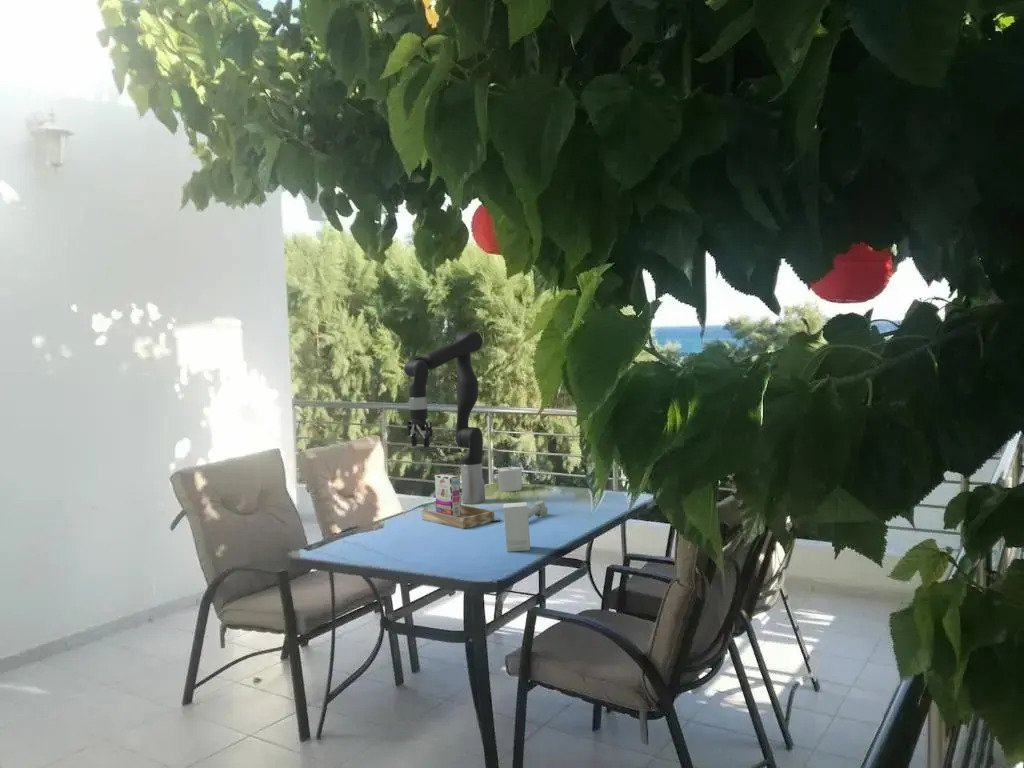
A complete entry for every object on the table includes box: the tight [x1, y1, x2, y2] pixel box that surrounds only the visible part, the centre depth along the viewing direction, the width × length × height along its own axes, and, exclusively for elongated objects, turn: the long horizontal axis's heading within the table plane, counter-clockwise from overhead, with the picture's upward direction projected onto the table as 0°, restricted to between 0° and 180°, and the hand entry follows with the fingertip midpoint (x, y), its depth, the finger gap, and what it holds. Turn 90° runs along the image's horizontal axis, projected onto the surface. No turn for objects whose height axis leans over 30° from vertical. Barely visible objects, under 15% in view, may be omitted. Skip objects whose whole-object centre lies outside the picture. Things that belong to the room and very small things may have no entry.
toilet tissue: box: [497, 466, 523, 493], centre depth 388 cm, size 11×12×10 cm
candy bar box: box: [434, 473, 462, 517], centre depth 332 cm, size 11×5×16 cm, turn 41°
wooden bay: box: [421, 504, 496, 530], centre depth 328 cm, size 16×26×4 cm, turn 43°
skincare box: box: [503, 501, 531, 553], centre depth 280 cm, size 8×7×16 cm
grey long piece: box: [527, 500, 549, 519], centre depth 322 cm, size 5×7×25 cm
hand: (420, 446), depth 344 cm, fingers open, 8 cm apart
